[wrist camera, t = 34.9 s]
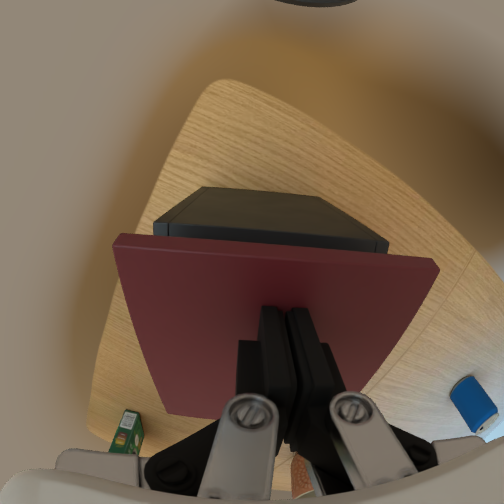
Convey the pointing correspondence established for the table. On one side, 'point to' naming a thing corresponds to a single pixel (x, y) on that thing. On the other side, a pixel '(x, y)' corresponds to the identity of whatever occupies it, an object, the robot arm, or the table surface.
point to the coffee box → (128, 434)
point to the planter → (300, 479)
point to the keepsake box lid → (258, 307)
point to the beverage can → (474, 405)
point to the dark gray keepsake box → (267, 220)
